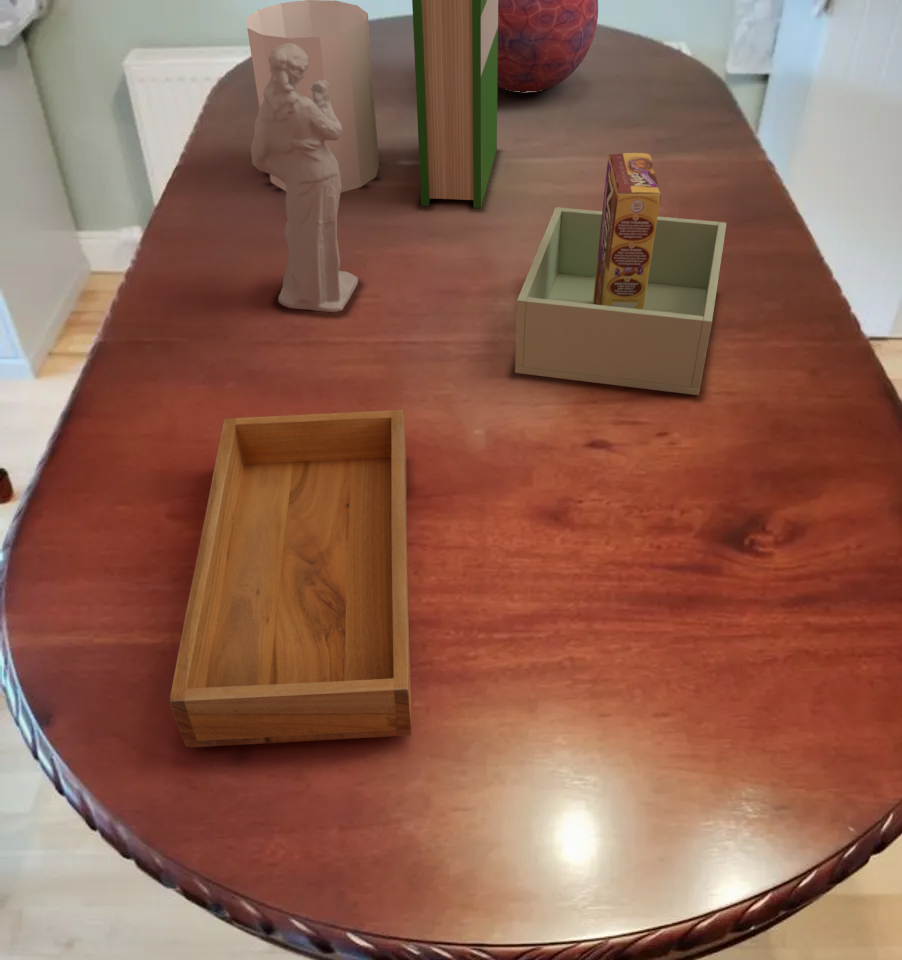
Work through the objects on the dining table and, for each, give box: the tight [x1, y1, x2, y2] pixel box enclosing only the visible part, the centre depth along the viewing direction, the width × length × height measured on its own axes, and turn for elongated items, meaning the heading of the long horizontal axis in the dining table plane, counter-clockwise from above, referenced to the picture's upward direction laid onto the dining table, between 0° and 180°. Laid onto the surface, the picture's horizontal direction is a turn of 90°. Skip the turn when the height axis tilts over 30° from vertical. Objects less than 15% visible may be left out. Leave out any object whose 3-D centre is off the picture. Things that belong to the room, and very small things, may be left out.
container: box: [245, 0, 380, 194], centre depth 124 cm, size 14×14×18 cm
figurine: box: [250, 43, 359, 313], centre depth 100 cm, size 10×10×25 cm
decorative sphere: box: [497, 0, 599, 94], centre depth 143 cm, size 20×20×20 cm
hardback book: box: [411, 0, 498, 209], centre depth 120 cm, size 18×7×24 cm, turn 172°
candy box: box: [593, 152, 662, 310], centre depth 96 cm, size 9×4×15 cm, turn 178°
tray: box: [169, 409, 413, 748], centre depth 75 cm, size 31×15×6 cm, turn 3°
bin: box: [514, 206, 727, 396], centre depth 99 cm, size 18×20×8 cm
